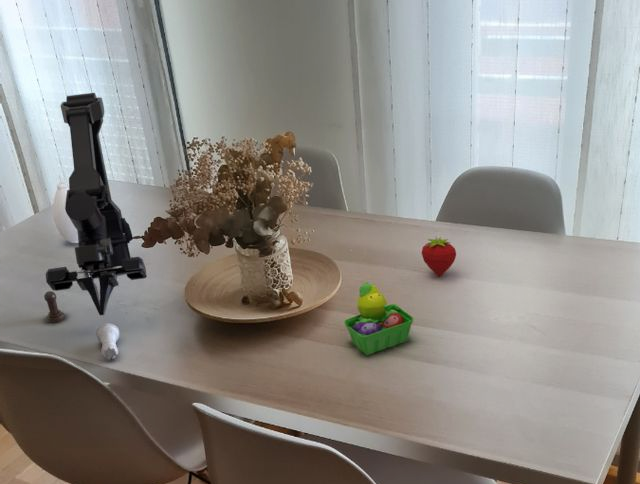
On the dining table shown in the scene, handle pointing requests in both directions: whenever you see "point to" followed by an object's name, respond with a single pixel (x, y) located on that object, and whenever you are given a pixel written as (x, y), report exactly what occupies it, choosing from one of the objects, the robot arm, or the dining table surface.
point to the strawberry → (439, 255)
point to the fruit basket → (377, 322)
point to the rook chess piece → (108, 340)
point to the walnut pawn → (53, 308)
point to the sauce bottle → (63, 214)
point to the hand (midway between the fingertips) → (101, 314)
